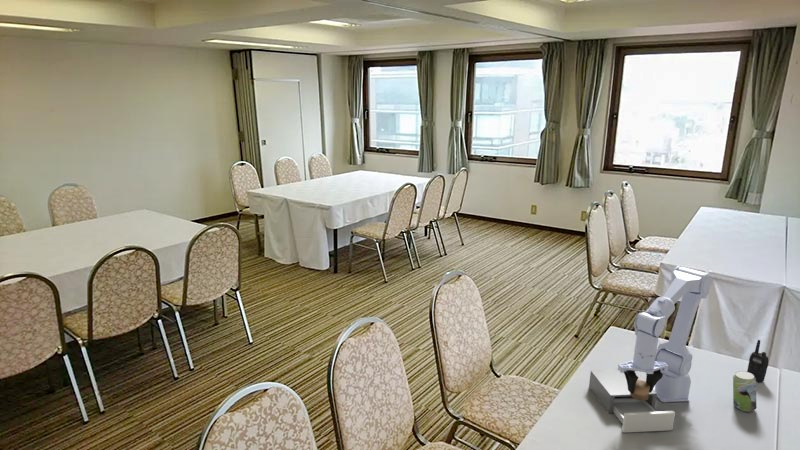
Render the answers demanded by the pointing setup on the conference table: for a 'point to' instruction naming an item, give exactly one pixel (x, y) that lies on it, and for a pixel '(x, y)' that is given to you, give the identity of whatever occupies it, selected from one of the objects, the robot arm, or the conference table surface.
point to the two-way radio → (758, 364)
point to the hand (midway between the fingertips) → (639, 391)
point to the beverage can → (744, 391)
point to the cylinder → (641, 390)
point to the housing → (613, 387)
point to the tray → (641, 416)
